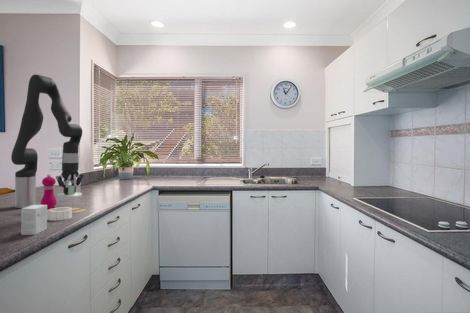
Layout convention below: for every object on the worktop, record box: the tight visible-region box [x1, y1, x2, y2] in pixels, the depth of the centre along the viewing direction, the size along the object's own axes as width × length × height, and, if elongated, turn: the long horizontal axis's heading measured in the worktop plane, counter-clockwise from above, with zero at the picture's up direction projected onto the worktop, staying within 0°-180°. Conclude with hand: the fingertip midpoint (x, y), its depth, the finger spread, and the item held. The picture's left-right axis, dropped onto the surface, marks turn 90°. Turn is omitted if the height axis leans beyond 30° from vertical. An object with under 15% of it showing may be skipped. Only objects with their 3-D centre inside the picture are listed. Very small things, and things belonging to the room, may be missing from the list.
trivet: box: [71, 206, 87, 214], centre depth 146 cm, size 12×12×1 cm
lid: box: [56, 184, 83, 199], centre depth 146 cm, size 12×12×5 cm
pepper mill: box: [40, 173, 58, 210], centre depth 147 cm, size 7×7×20 cm
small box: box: [20, 204, 48, 236], centre depth 113 cm, size 8×6×10 cm
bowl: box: [47, 206, 73, 222], centre depth 131 cm, size 10×10×5 cm
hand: (69, 193), depth 146 cm, fingers closed on lid, 3 cm apart
